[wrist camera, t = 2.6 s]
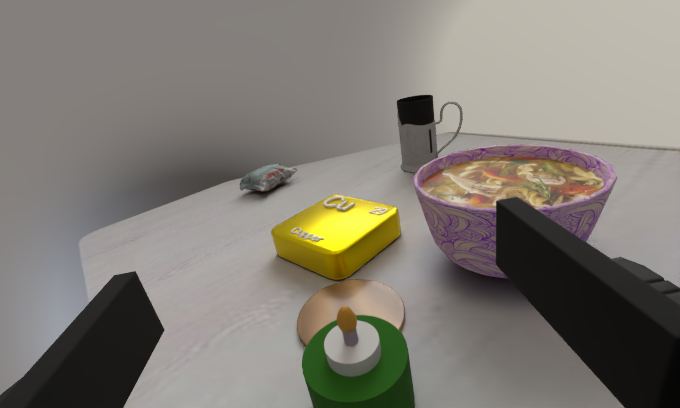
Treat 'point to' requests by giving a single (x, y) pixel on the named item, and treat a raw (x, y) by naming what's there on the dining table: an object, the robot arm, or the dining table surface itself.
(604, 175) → the bowl of food
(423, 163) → the glass holder
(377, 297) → the cork trivet
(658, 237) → the dining table surface
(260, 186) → the packaged food
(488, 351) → the dining table surface
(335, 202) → the element tile
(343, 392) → the candle
